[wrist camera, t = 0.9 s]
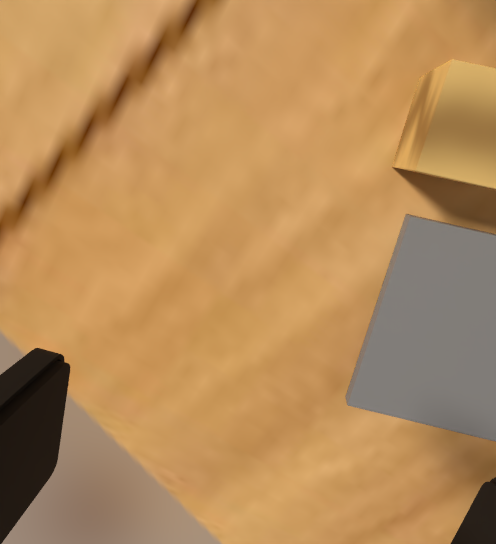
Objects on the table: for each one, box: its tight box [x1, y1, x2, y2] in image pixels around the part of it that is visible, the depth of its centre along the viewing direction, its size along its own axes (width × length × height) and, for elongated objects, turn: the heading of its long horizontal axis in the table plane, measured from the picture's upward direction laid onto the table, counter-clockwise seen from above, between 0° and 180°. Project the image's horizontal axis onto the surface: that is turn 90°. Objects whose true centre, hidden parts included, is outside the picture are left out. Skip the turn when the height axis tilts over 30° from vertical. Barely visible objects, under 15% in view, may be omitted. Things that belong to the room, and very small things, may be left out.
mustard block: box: [392, 59, 496, 189], centre depth 26 cm, size 6×6×6 cm
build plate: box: [346, 214, 496, 441], centre depth 32 cm, size 16×16×1 cm
